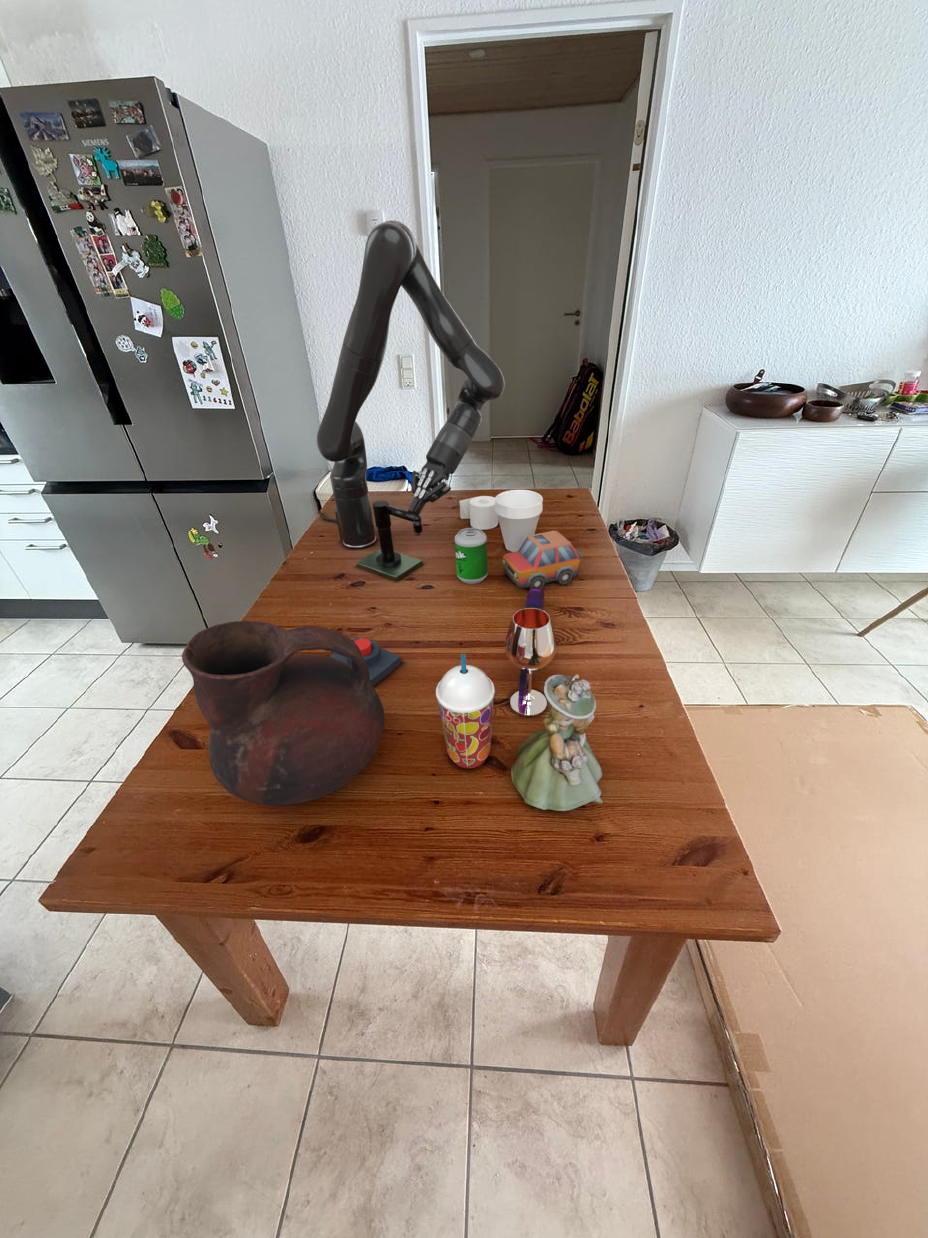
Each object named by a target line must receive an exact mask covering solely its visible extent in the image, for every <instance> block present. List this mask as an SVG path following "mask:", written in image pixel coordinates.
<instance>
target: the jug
mask: <svg viewBox="0 0 928 1238" xmlns="http://www.w3.org/2000/svg"><path fill="white" fill-rule="evenodd" d="M320 650H321V651H328V652H332V653H337V654H340V655H342V656H345V657H348V658H350V659H351V660H352V667H351V666H350V665H348V664H346V663H344V662H342V661H340V660H337V659H335V658H332V657H329V656H327V655H323V654H308V653H307V654H306V653H305V654H304V653H303V654H302V653H301V654H295V653H298V652H302V651H320ZM181 661H182V663H183V665H184V667H185V669H187V671H188V672H189V673H190V675H191V678H192V681H193V691H194V696H195V700H196V703H197V706H198V709H199V710H200V712H201V714H202V716H203V718H204V720H205V721H206V723H207V724H208V726H209V727H210V730H209V733H208V743H207V744H208V745H207V746H208V748H207V749H208V750H207V751H208V759H209V764H210V769H211V771H212V773H213V776H214V777H215V780H216V781H217V782H218V783H219V785H221V786H222V787H223V788H224V789H225V790H226V791H227V793H228V792H229V794H231V795H232V796H234V797H236V798H238V799H241V800H244V801H247V802H249V803H253V804H258V805H263V806H269V807H279V806H289V805H290V806H291V805H298V804H301V803H306V802H311V801H314V800H318V799H321V798H324V797H325V796H328V795H330V794H332V793H333V792H336V791H338V790H339V789H341V788H343V787H345V786H346V785H347V784H348V783H350V782H351V781H352V780H353V779H355V778H356V777H357V776H358V775H359V774H361V772H362V771H363V770H364V769H365V767H366V766H367V765H368V764H369V762H370V761H371V759H372V758H374V755H375V754H376V752H377V750H378V748H379V746H380V744H381V742H382V741H381V740H382V737H383V733H384V728H385V710H384V706H383V703H382V701H381V699H380V696H379V694H378V692H377V691H376V689H375V688H374V686H373V687H372V685H371V684H370V683H369V677H370V674H369V670H368V666H367V664H366V662H365V660H364V659H363V657H362V655H361V652H360V649H359V647H358V646H357V645H356V643H355V642H354V641H353V639H351V638H350V637H349V636H348V635H346V634H343V633H341V632H339V631H338V630H335V629H332V628H327V627H325V626H319V625H305V626H304V625H303V626H297V627H294V628H293V627H292V628H288V629H287V628H284V627H282V626H278V625H277V624H276V625H275V624H274V623H270V622H266V621H256V620H253V621H250V620H241V621H240V620H239V621H237V620H236V621H229V622H223V623H217V624H215V625H212V626H210V627H207V628H203V630H200V631H198V632H197V633H196V634H195V635H193V637H191V639H190V640H189V641H188V642H187V644H186V645H185V647H184V649H183V651H182V653H181Z"/></svg>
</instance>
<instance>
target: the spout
mask: <svg viewBox="0 0 928 1238" xmlns="http://www.w3.org/2000/svg"><path fill="white" fill-rule="evenodd" d="M372 510H373V511H372V512H373V518H374V524H375V527H376V528H377V529H378V528H380V529H384V528H388V527H391V526H392V520H391V519H392V517H391V516H393V517H395V518H398V519H402V520H405V521H409V522H412V527H413V532H414V533H415V534H416V535H420V534H421V533H422V532H423V521H422V516H421V515H420V514H419V515H418V514H415V513H412V512H409V511H408V510H406V509H401V508H399V507H398V508H397V507H395V506H392V505H389V501H388V500H377V501H374V502H373V503H372Z"/></svg>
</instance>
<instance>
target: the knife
mask: <svg viewBox="0 0 928 1238" xmlns="http://www.w3.org/2000/svg"><path fill="white" fill-rule="evenodd" d="M544 599H545V593H544V590H543V588H542V589H541V588H538V587H533V588H531V589H530V588H529V589H528V590H527V594H526V599H525V604H524V609H525V608H536V609H540V610H543V609H544V608H543V607H544ZM519 671H520V672H519V685H518V691H519V698H518V708H519V709H520V708H521V706H522V703H523V697H524V692H525V689H526V687H527V672H526V671H525V670H522V669H520V668H519Z"/></svg>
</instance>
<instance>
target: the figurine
mask: <svg viewBox="0 0 928 1238" xmlns="http://www.w3.org/2000/svg"><path fill="white" fill-rule="evenodd" d="M543 692H544V693H543V694H544V696H545V698H546V700H547V709H548V712H549V714H547V715H546V716H545V718H544V719H542V723H543V725H544V728H542V729H538V730H537V731H535V732H533V733H532V734H530V735H529V736H528V737H527V738H526V739H525V740H524V741H522V743H521V744H520V745H519V747H517V749H516V752H515V754H516V760H515V761H514V762H513V763H512V765H511V767H510V777H511V781H512V783H513V785H514V787H515V788H516V790H517V791H518V793H519V794H520V795H521V797H522V799H523V800H524V802H525V804H527V805H529V806H532V807H535V808H537V809H539V810H544V811H545V810H552V811H556V812H567V811H568V812H569V811H572V810H575V809H578V808H579V807H582V806H585V805H587V804H588V803H591V802H592V803H594V804H598V805H603V802H604V801H603V799H602V798H601V795H602V789H601V788H600V787H599V785H598V782H599V781H600V780H601V778H602V777H603V774H604V773H603V771H602V767H601V764H600V763H599V761H598V759H597V758H596V756H595V754H594V752H593V750H592V748H591V745H590V743H589V742H588V741H587V735H586V732H584V731H585V730H587V729H588V728H589V726H590V724H591V723H592V722H593V721H594V719H595V715H594V713H595V711H596V708H597V702H596V699H595V695H594V694H593V692H592V691H591V684H590V682H589V681H588V680H587V679H584V678H582V679H580V675H579V674H578V673H576V674H574V675H572V676H570V675H566V674H565V675H564V674H552V675H551V676H550V675H549V677H548V678H547V679H546V680H545V681H544V686H543ZM581 733H582V734H581Z"/></svg>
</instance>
